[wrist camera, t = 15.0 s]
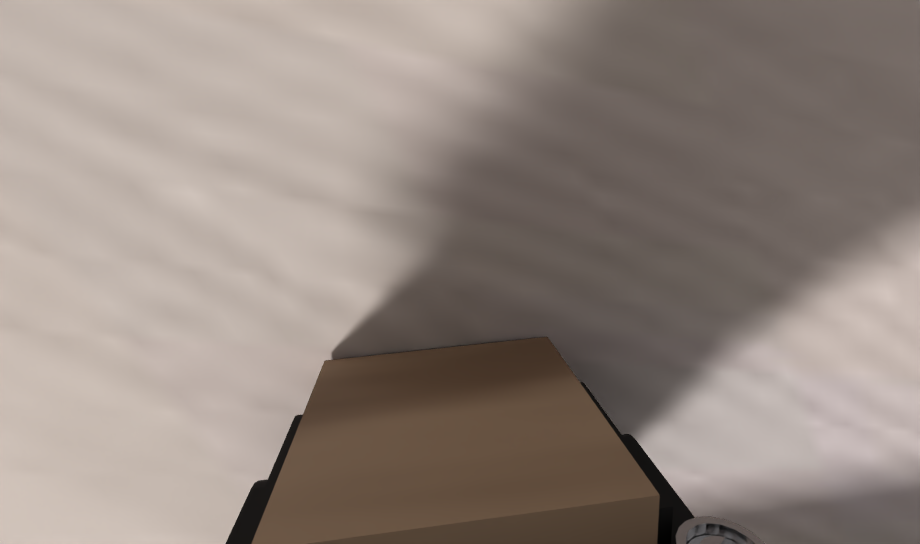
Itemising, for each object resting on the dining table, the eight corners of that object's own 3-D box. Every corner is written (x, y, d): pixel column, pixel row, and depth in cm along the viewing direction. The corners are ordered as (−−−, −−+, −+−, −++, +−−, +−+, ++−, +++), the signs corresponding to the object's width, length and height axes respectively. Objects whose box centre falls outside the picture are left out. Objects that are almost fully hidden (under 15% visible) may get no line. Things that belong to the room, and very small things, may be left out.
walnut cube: (324, 360, 10) (247, 552, 5) (547, 336, 11) (659, 494, 6) (354, 543, 12) (314, 826, 7) (551, 516, 12) (645, 764, 7)
